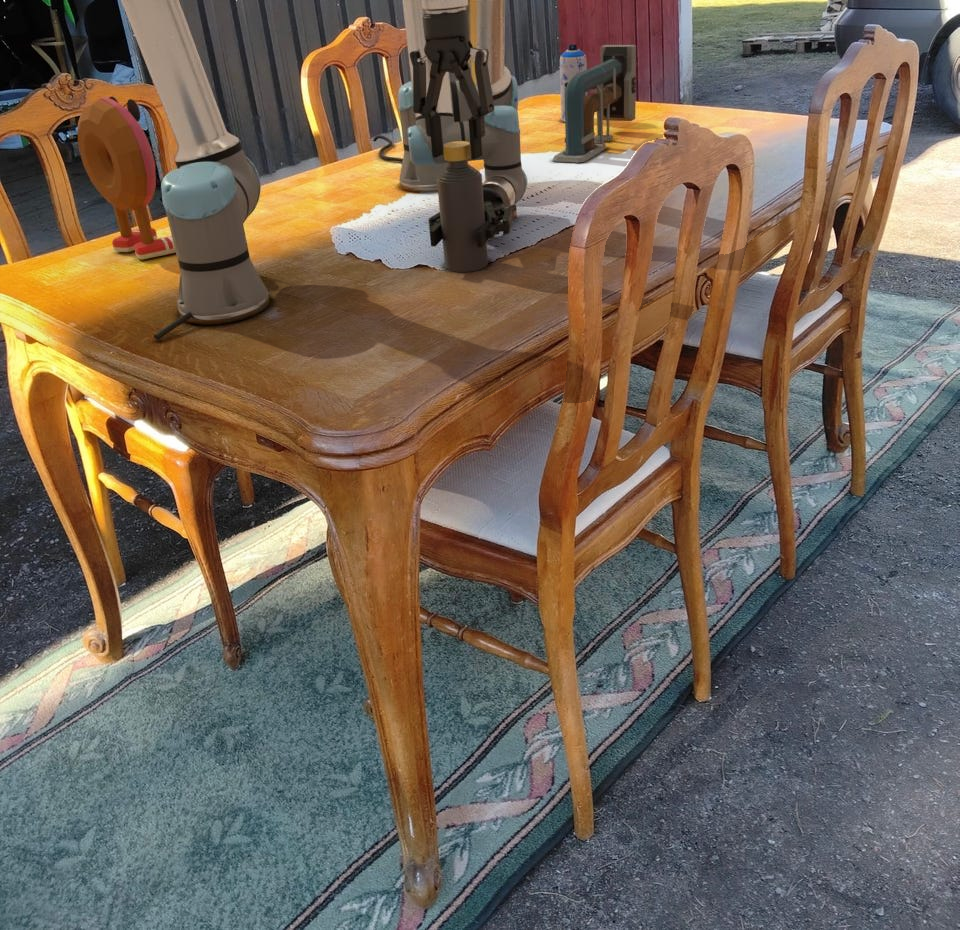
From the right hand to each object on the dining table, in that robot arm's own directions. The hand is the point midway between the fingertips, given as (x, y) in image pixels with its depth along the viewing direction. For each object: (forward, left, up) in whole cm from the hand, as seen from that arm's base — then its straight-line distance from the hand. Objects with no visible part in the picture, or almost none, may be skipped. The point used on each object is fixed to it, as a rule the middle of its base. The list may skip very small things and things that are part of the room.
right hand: (455, 239), depth 170 cm
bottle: (-4, +2, -6) cm, 8 cm away
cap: (-4, +2, +15) cm, 16 cm away
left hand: (-4, +2, +13) cm, 14 cm away
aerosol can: (-118, +49, -6) cm, 127 cm away
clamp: (-84, +46, -6) cm, 96 cm away
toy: (-37, -60, -6) cm, 71 cm away
